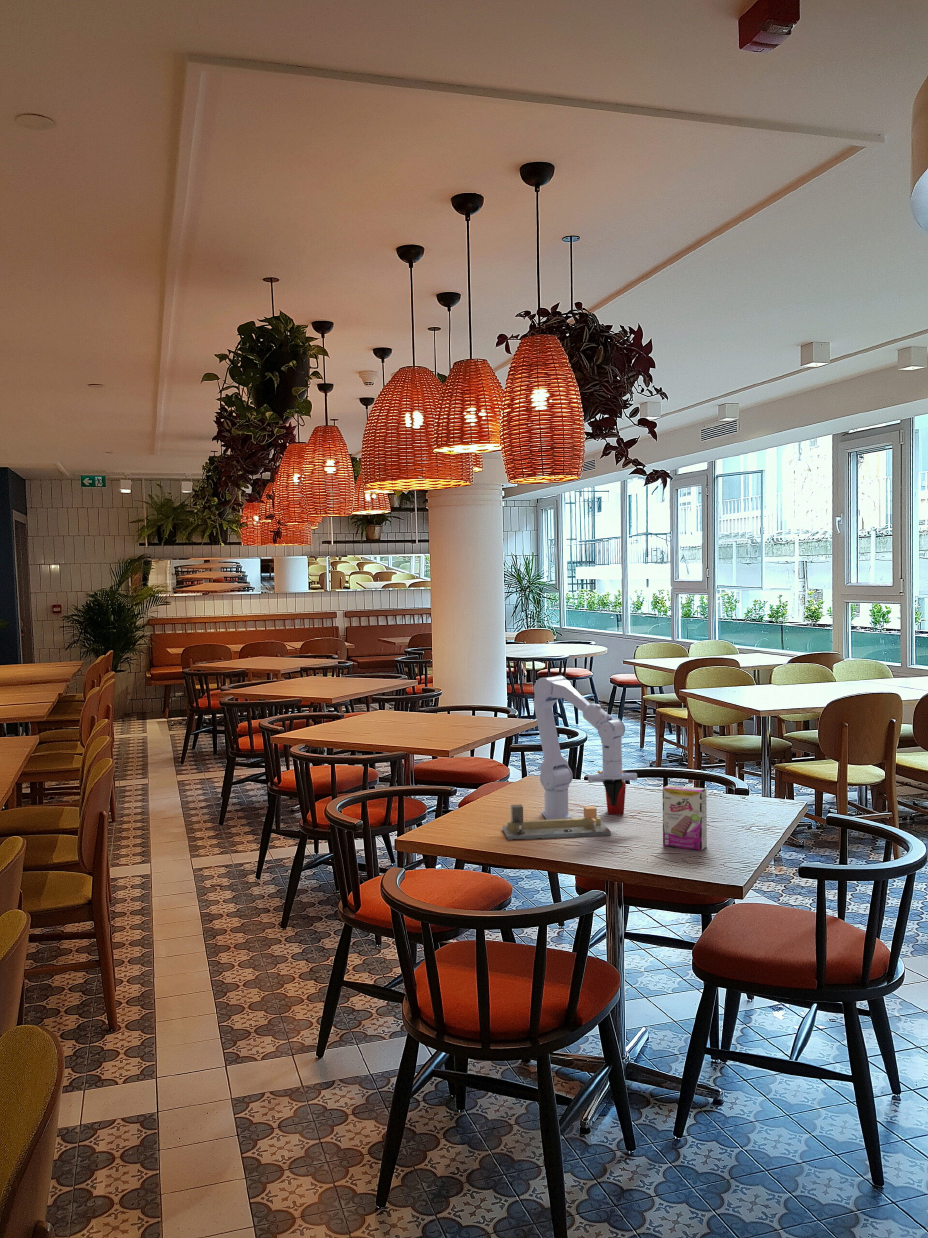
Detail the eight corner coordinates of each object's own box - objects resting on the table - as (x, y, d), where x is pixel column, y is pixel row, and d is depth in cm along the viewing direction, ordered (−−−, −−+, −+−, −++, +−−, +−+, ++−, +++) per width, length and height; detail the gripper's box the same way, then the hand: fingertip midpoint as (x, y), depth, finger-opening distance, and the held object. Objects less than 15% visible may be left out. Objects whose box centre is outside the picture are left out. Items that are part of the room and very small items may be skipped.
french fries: (625, 810, 305) (624, 764, 305) (627, 816, 297) (626, 769, 297) (597, 810, 306) (597, 764, 306) (598, 816, 298) (598, 769, 298)
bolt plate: (502, 829, 284) (502, 804, 284) (601, 825, 287) (600, 800, 287) (508, 840, 272) (507, 813, 272) (610, 835, 275) (610, 809, 275)
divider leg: (583, 822, 285) (583, 806, 285) (594, 821, 285) (594, 806, 285) (589, 828, 277) (589, 812, 277) (600, 828, 278) (600, 812, 277)
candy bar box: (662, 846, 263) (661, 787, 262) (668, 842, 267) (667, 784, 266) (702, 851, 257) (701, 791, 256) (707, 847, 261) (706, 787, 261)
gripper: (591, 763, 279) (592, 809, 280) (639, 761, 280) (640, 807, 281) (586, 759, 286) (587, 804, 287) (633, 757, 287) (634, 801, 288)
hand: (613, 805), depth 284 cm, fingers closed
